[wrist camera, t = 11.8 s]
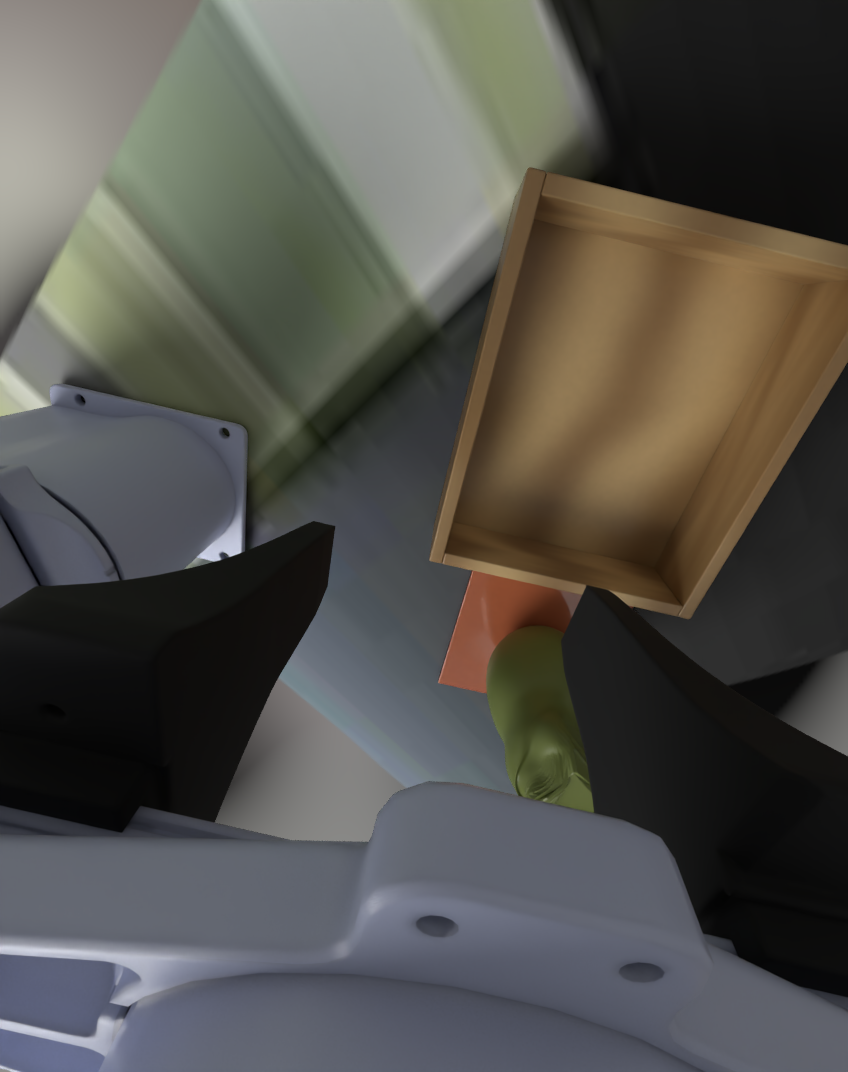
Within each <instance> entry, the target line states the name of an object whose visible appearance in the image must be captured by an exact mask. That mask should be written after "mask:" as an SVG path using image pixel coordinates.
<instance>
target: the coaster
mask: <svg viewBox="0 0 848 1072" xmlns="http://www.w3.org/2000/svg"><path fill="white" fill-rule="evenodd" d="M581 596H582V595H580V594H575V593H571V592H566V591H562V590H558V589H553V588H549V587H544V586H540V585H535V584H531V583H526V582H522V581H517V580H513V579H509V578H504V577H500V576H495V575H491V574H486V573H482V572H477V571H473V570H472V571H471V574H470V577H469V581H468V584H467V587H466V591H465V594H464V597H463V600H462V604H461V607H460V610H459V613H458V617H457V620H456V623H455V626H454V630H453V633H452V636H451V639H450V643H449V646H448V649H447V652H446V656H445V659H444V662H443V665H442V669H441V672H440V675H439V679H438V683H441V684H445V685H450V686H455V687H459V688H464V689H468V690H473V691H477V692H482V693H487V690H486V673H487V667H488V663H489V659H490V657H491V655H492V653H493V651H494V649H495V648H496V646H497V645H498V644H499V642H500V641H501V640H502V639H503V638H504V637H506V636H507V635H508V634H510V633H511V632H513V631H515V630H517V629H520V628H523V627H527V626H536V625H539V626H547V627H551V628H554V629H557V630H559V631H561V632H563V633H565V631H566V629H567V627H568V625H569V622H570V620H571V618H572V616H573V614H574V612H575V609H576V607H577V605H578V603H579V601H580V598H581ZM628 606H629V605H628ZM629 607H630V608H633V606H629Z"/></svg>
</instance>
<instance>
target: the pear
mask: <svg viewBox="0 0 848 1072" xmlns="http://www.w3.org/2000/svg"><path fill="white" fill-rule="evenodd" d="M563 635H564V633H563V632H561V631H559V630H557V629H554V628H551V627H547V626H539V625H536V626H527V627H523V628H520V629H517V630H515V631H513V632H511V633H510V634H508V635H507V636H506V637H504V638H503V639H502V640H501V641H500V642H499V644H498V645H497V646H496V648H495V649H494V651H493V653H492V655H491V657H490V659H489V663H488V667H487V673H486V690H487V697H488V702H489V707H490V711H491V714H492V717H493V720H494V723H495V726H496V728H497V731H498V733H499V735H500V737H501V739H502V740H503V742H504V744H505V762H506V769H507V773H508V776H509V779H510V781H511V783H512V785H513V787H514V788H515V790H516V792H517V794H518V796H521V797H525V798H530V799H534V800H539V801H543V802H547V803H552V804H556V805H560V806H565V807H569V808H574V809H578V810H582V811H587V812H591V813H594V808H593V799H592V793H591V786H590V779H589V773H588V766H587V760H586V756H585V751H584V747H583V743H582V739H581V735H580V731H579V727H578V724H577V720H576V716H575V712H574V709H573V705H572V701H571V697H570V693H569V689H568V685H567V682H566V677H565V673H564V666H563V658H562V646H561V640H562V638H563Z"/></svg>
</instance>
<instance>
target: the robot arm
mask: <svg viewBox="0 0 848 1072" xmlns="http://www.w3.org/2000/svg"><path fill="white" fill-rule="evenodd" d="M81 396H83V397H84V399H85V401H86V402H85V403H84V402H83V401H82V399H81ZM50 397H51V403H52V406H48V407H43V408H39V409H34V410H29V411H24V412H20V413H15V414H10V415H6V416H1V417H0V1068H1V1069H5V1070H8V1071H11V1072H848V756H846V755H844V754H842V753H840V752H838V751H836V750H834V749H832V748H831V747H829V746H827V745H825V744H823V743H821V742H819V741H817V740H816V739H814V738H812V737H810V736H808V735H806V734H804V733H803V732H801V731H799V730H797V729H796V728H794V727H792V726H790V725H788V724H787V723H785V722H783V721H782V720H780V719H778V718H777V717H775V716H773V715H772V714H770V713H768V712H767V711H765V710H763V709H762V708H760V707H758V706H757V705H755V704H754V703H752V702H751V701H749V700H748V699H746V698H744V697H742V696H741V695H739V694H738V693H737V692H735V691H734V690H732V689H731V688H730V687H728V686H727V685H725V684H724V683H722V682H721V681H720V680H718V679H717V678H715V677H714V676H712V675H711V674H710V673H708V672H707V671H706V670H704V669H703V668H702V667H700V666H699V665H698V664H696V663H695V662H694V661H693V660H691V659H690V658H689V657H688V656H686V655H685V654H684V653H683V652H681V651H680V650H679V649H678V648H676V647H675V646H674V645H673V644H672V643H671V642H669V641H668V640H667V639H666V638H665V637H663V636H662V635H661V634H660V633H659V632H658V631H657V630H655V629H654V628H653V627H652V626H651V625H650V624H649V623H647V622H646V621H645V620H644V619H643V618H642V617H641V616H640V615H638V614H637V613H636V612H635V611H634V610H633V609H632V608H630V607H629V606H628V605H627V604H626V603H625V602H623V601H622V600H621V599H620V598H619V597H617V596H616V595H615V594H613V593H612V592H610V591H609V590H606V589H602V588H598V587H594V586H589V585H586V588H585V590H584V592H583V594H582V596H581V598H580V601H579V603H578V605H577V607H576V609H575V612H574V614H573V616H572V618H571V620H570V622H569V625H568V627H567V629H566V631H565V633H564V635H563V638H562V640H561V646H562V658H563V666H564V673H565V677H566V682H567V685H568V689H569V693H570V697H571V701H572V705H573V709H574V712H575V716H576V720H577V724H578V727H579V731H580V735H581V739H582V743H583V747H584V751H585V756H586V760H587V766H588V773H589V779H590V786H591V793H592V799H593V808H594V813H591V812H587V811H582V810H578V809H574V808H569V807H565V806H560V805H556V804H552V803H547V802H543V801H539V800H534V799H530V798H525V797H521V796H517V795H512V794H508V793H504V792H499V791H495V790H491V789H486V788H482V787H477V786H473V785H469V784H464V783H450V782H432V781H428V782H425V783H422V784H419V785H416V786H413V787H410V788H407V789H404V790H400V791H398V792H397V793H395V794H393V795H392V797H391V798H390V799H389V800H388V802H387V803H386V804H385V805H384V806H383V808H382V809H381V810H380V811H379V813H378V815H377V819H376V822H375V826H374V830H373V833H372V837H371V838H370V840H369V842H349V841H348V842H346V841H301V840H300V841H299V840H288V839H284V838H279V837H275V836H271V835H267V834H262V833H258V832H253V831H249V830H245V829H240V828H236V827H231V826H227V825H223V824H218V823H214V822H215V820H216V817H217V815H218V812H219V810H220V807H221V805H222V802H223V800H224V798H225V795H226V793H227V790H228V788H229V786H230V783H231V781H232V779H233V776H234V774H235V771H236V769H237V767H238V764H239V762H240V760H241V757H242V755H243V753H244V750H245V748H246V746H247V744H248V741H249V739H250V737H251V734H252V732H253V730H254V727H255V725H256V723H257V721H258V719H259V717H260V714H261V712H262V710H263V708H264V705H265V703H266V701H267V699H268V697H269V695H270V693H271V690H272V688H273V687H274V685H275V683H276V681H277V679H278V677H279V675H280V674H281V672H282V670H283V669H284V667H285V665H286V664H287V662H288V660H289V659H290V657H291V655H292V654H293V652H294V650H295V649H296V647H297V645H298V644H299V642H300V640H301V639H302V637H303V635H304V634H305V632H306V630H307V628H308V627H309V625H310V623H311V622H312V620H313V618H314V616H315V615H316V612H317V610H318V608H319V605H320V603H321V601H322V598H323V596H324V593H325V591H326V588H327V585H328V577H329V570H330V562H331V554H332V546H333V539H334V531H335V526H332V525H328V524H323V523H319V522H315V521H313V522H311V523H308V524H306V525H304V526H301V527H299V528H297V529H295V530H293V531H291V532H289V533H287V534H285V535H282V536H280V537H278V538H276V539H274V540H271V541H269V542H267V543H265V544H262V545H260V546H257V547H255V548H252V549H249V550H247V551H245V529H246V491H247V452H248V434H247V431H246V429H245V428H244V427H243V426H242V425H240V424H237V423H232V422H228V421H224V420H219V419H215V418H211V417H206V416H202V415H197V414H193V413H189V412H184V411H180V410H176V409H171V408H167V407H163V406H158V405H154V404H150V403H145V402H141V401H137V400H132V399H128V398H123V397H119V396H115V395H110V394H106V393H102V392H97V391H93V390H89V389H84V388H80V387H76V386H71V385H67V384H54V385H52V386H51V388H50ZM223 428H226V429H227V430H228V431H229V433H230V436H229V437H228V436H226V435H225V434H224V433H223ZM223 552H225V553H227V554H228V556H229V557H227V556H225V555H224V554H223ZM196 557H198V558H202V559H207V560H211V561H215V562H212V563H208V564H205V565H201V566H197V567H193V568H189V569H184V568H185V567H186V566H188V565H189V564H190V563H191V562H192V561H193V560H194V559H195V558H196ZM183 569H184V570H183Z"/></svg>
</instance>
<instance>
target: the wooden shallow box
mask: <svg viewBox="0 0 848 1072" xmlns="http://www.w3.org/2000/svg"><path fill="white" fill-rule="evenodd" d="M847 362H848V245H844V244H840V243H836V242H832V241H828V240H824V239H820V238H816V237H812V236H808V235H803V234H799V233H795V232H791V231H787V230H783V229H779V228H775V227H771V226H767V225H763V224H759V223H755V222H751V221H747V220H743V219H739V218H735V217H730V216H726V215H722V214H718V213H714V212H710V211H706V210H702V209H698V208H694V207H690V206H686V205H682V204H678V203H674V202H670V201H666V200H661V199H657V198H653V197H649V196H645V195H641V194H637V193H633V192H629V191H625V190H621V189H617V188H613V187H609V186H605V185H601V184H597V183H593V182H588V181H584V180H580V179H576V178H572V177H568V176H564V175H560V174H556V173H552V172H547V174H546V172H545V171H544V170H539V169H535V168H531V167H529V168H528V169H527V171H526V173H525V176H524V178H523V180H522V183H521V185H520V187H519V189H518V192H517V194H516V196H515V199H514V203H513V207H512V211H511V215H510V219H509V223H508V227H507V231H506V235H505V239H504V243H503V247H502V251H501V255H500V260H499V264H498V268H497V272H496V276H495V280H494V284H493V288H492V292H491V296H490V300H489V304H488V308H487V312H486V316H485V320H484V324H483V328H482V333H481V337H480V341H479V345H478V349H477V353H476V357H475V361H474V365H473V369H472V373H471V377H470V381H469V385H468V389H467V393H466V397H465V402H464V406H463V410H462V414H461V418H460V422H459V426H458V430H457V434H456V438H455V442H454V446H453V450H452V454H451V458H450V462H449V466H448V470H447V475H446V479H445V483H444V487H443V491H442V495H441V499H440V503H439V507H438V511H437V515H436V519H435V523H434V529H433V536H432V544H431V551H430V558H429V560H430V561H433V562H438V563H443V564H446V565H451V566H455V567H460V568H464V569H469V570H473V571H477V572H482V573H486V574H491V575H495V576H500V577H504V578H509V579H513V580H517V581H522V582H526V583H531V584H535V585H540V586H544V587H549V588H553V589H558V590H562V591H566V592H571V593H575V594H580V595H582V594H583V592H584V590H585V588H586V585H589V586H594V587H598V588H602V589H606V590H609V591H610V592H612V593H613V594H615V595H616V596H617V597H619V598H620V599H621V600H622V601H623V602H625V603H626V604H627V605H629V606H633V607H638V608H642V609H647V610H651V611H655V612H660V613H664V614H669V615H673V616H678V617H682V618H687V619H690V618H691V617H692V615H693V613H694V612H695V610H696V608H697V607H698V605H699V604H700V602H701V600H702V599H703V597H704V595H705V594H706V592H707V591H708V589H709V587H710V586H711V584H712V582H713V581H714V579H715V578H716V576H717V574H718V573H719V571H720V569H721V568H722V566H723V564H724V563H725V561H726V560H727V558H728V556H729V555H730V553H731V551H732V550H733V548H734V547H735V545H736V543H737V542H738V540H739V538H740V537H741V535H742V534H743V532H744V530H745V529H746V527H747V525H748V524H749V522H750V520H751V519H752V517H753V516H754V514H755V512H756V511H757V509H758V507H759V506H760V504H761V503H762V501H763V499H764V498H765V496H766V494H767V493H768V491H769V490H770V488H771V486H772V485H773V483H774V481H775V480H776V478H777V476H778V475H779V473H780V472H781V470H782V468H783V467H784V465H785V463H786V462H787V460H788V459H789V457H790V455H791V454H792V452H793V450H794V449H795V447H796V446H797V444H798V442H799V441H800V439H801V437H802V436H803V434H804V432H805V431H806V429H807V428H808V426H809V424H810V423H811V421H812V419H813V418H814V416H815V415H816V413H817V411H818V410H819V408H820V406H821V405H822V403H823V402H824V400H825V398H826V397H827V395H828V393H829V392H830V390H831V388H832V387H833V385H834V384H835V382H836V380H837V379H838V377H839V375H840V374H841V372H842V371H843V369H844V367H845V366H846V364H847Z"/></svg>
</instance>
